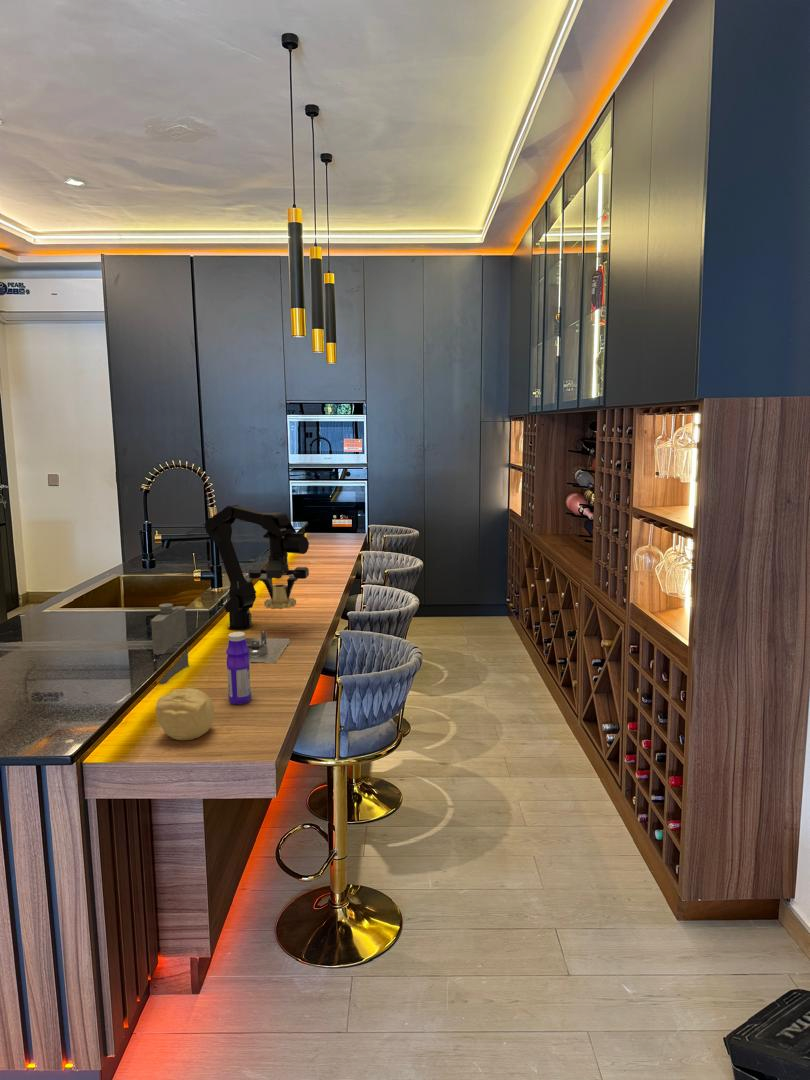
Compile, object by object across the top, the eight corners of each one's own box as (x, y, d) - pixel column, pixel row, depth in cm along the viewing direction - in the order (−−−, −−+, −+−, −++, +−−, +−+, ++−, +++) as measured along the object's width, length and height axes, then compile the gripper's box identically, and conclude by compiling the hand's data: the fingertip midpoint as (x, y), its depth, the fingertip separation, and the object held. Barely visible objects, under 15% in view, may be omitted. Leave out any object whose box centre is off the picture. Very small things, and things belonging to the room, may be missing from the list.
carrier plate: (227, 662, 206) (226, 645, 205) (247, 641, 226) (246, 626, 225) (274, 663, 205) (274, 646, 204) (290, 642, 225) (289, 626, 224)
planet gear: (261, 609, 228) (260, 589, 227) (269, 601, 238) (268, 582, 237) (292, 609, 227) (291, 589, 226) (298, 601, 237) (298, 582, 236)
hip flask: (164, 684, 189) (159, 612, 186) (150, 683, 190) (145, 611, 186) (190, 664, 205) (186, 597, 201) (177, 664, 205) (173, 597, 202)
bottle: (252, 704, 175) (249, 636, 172) (229, 707, 174) (225, 639, 171) (250, 693, 182) (247, 628, 179) (227, 696, 180) (224, 630, 178)
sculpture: (150, 744, 154) (147, 697, 152) (176, 721, 165) (173, 678, 163) (200, 747, 152) (197, 700, 150) (222, 724, 163) (220, 680, 162)
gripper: (243, 556, 222) (245, 604, 225) (301, 556, 221) (303, 604, 224) (252, 550, 233) (254, 595, 236) (308, 550, 232) (309, 596, 235)
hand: (280, 598), depth 232 cm, fingers closed on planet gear, 5 cm apart
